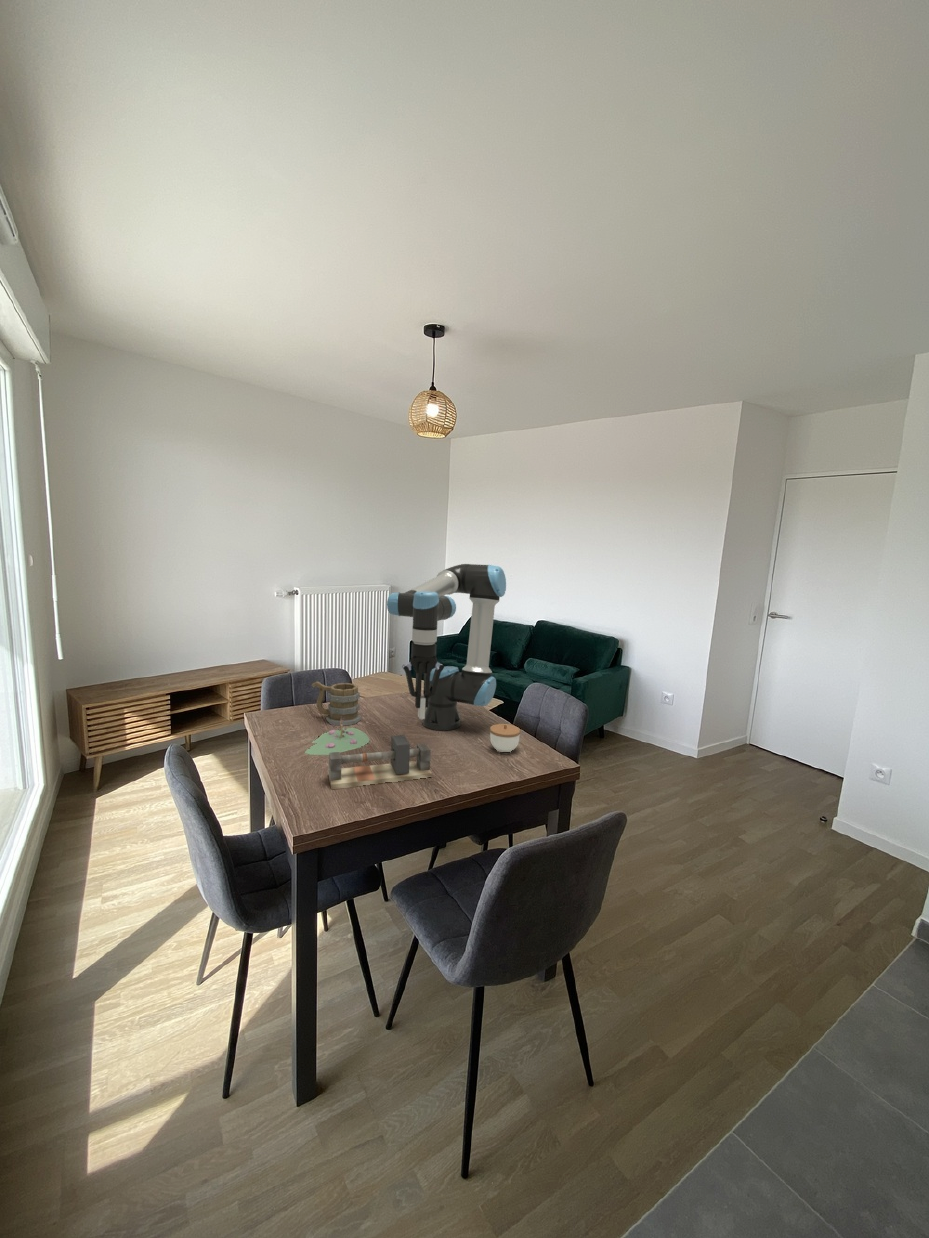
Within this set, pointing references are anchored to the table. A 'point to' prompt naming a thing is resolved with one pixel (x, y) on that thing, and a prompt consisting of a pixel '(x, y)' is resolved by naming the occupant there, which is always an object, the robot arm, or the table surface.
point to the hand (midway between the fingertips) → (421, 717)
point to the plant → (338, 741)
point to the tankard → (340, 703)
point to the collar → (400, 754)
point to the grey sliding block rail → (376, 768)
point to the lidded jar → (504, 737)
